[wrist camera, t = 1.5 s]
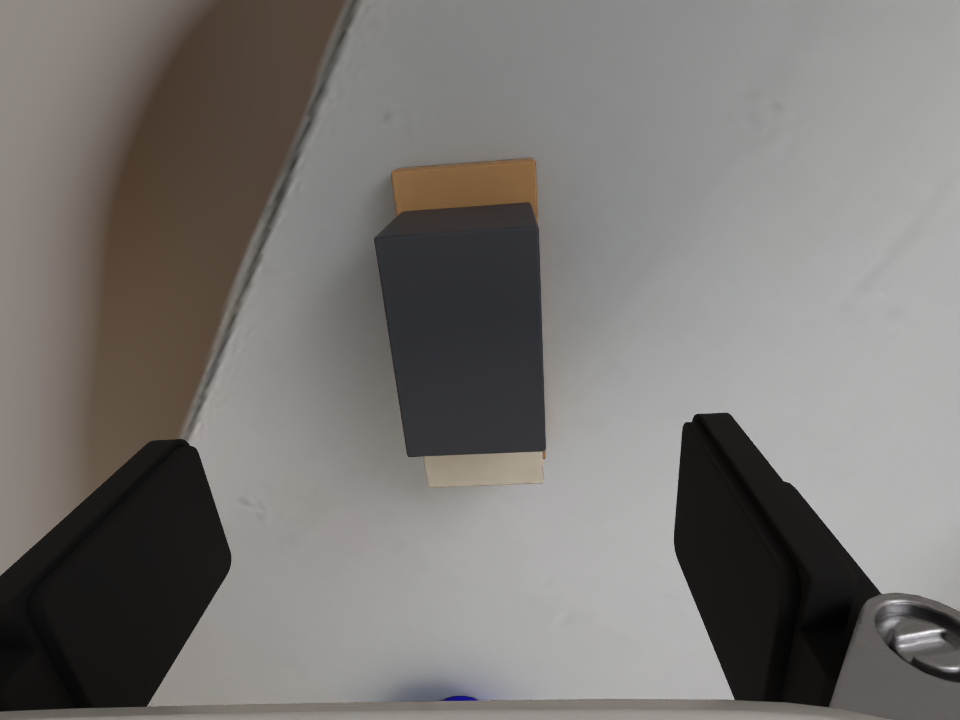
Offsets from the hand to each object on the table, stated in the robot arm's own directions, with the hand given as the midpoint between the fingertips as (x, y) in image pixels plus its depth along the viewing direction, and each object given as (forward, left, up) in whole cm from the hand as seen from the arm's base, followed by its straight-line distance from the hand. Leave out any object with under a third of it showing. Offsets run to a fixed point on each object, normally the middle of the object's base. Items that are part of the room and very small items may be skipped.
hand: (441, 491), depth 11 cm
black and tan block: (0, 0, -12) cm, 12 cm away
